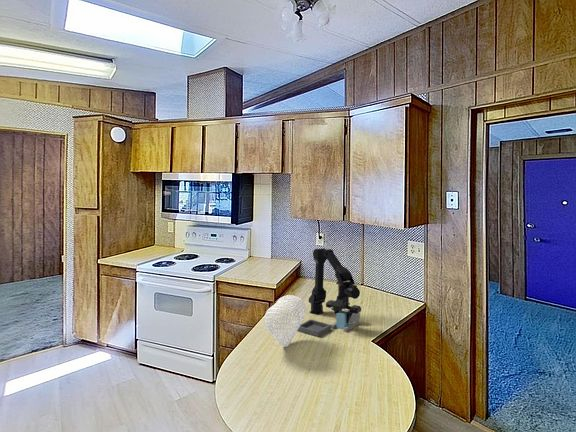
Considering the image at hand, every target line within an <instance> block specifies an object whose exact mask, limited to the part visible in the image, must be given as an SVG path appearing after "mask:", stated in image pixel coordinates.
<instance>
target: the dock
mask: <svg viewBox="0 0 576 432" xmlns="http://www.w3.org/2000/svg"><path fill="white" fill-rule="evenodd" d="M342 311H348V309H342ZM360 321H361V312H359V313H358V314H354V313H353V314H352V316H351V318H350V324H349V325H348V326H346V327H344V328H343V329H342V331H343V332H344V333H347V332H348V331H349V330H351V329H353V328H354V327H356V326H357V325H359V324H360ZM330 325H331V330H332V329H336V321H335V322H333V323H332V324H330Z"/></svg>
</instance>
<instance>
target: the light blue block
mask: <svg viewBox="0 0 576 432" xmlns="http://www.w3.org/2000/svg"><path fill="white" fill-rule="evenodd" d="M346 312H347V311H343V310H342V311H340V312H338V313H336V314H335V317H336V320H335V322H336V327H335V329H339V330H343V328H344V327H346V326H348V325H349V324H350V320H349V322H348V323H347V313H346Z"/></svg>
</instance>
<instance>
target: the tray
mask: <svg viewBox="0 0 576 432" xmlns="http://www.w3.org/2000/svg"><path fill="white" fill-rule="evenodd" d="M331 330H332V328H331V324H330V323H327V322H326V323H325V322H322V321H318V320H314V319H310V318H309V319H308V320H306V321H304V322H302V323H301V325H300V327H299V329H298V331H297V333H298V332H299V333H302V334H305V335H309V336H313V337H314V338H315V337H316V338H319V337H321V336H323V335H325V334H326V333H327V332H329V331H331Z"/></svg>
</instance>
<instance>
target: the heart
mask: <svg viewBox="0 0 576 432" xmlns="http://www.w3.org/2000/svg"><path fill="white" fill-rule="evenodd" d="M306 310H307V309H306V303H305V302H304V301H303V300H302V299H301V298H300V297H298V296H297V295H294V294H293V295H292V294H287V295H284V296H281V297H280V298H278V299H277V301H276V302H275V304H273V305H271V306H270V307H269V308H268V309H267V310H266V312H265V313H264V323H265V327H266V328H267V330H268V332H269V333H270V334H271V335H272V336H273V337H274V338H275V340H276V341H277V342H278V343H279V344H280V345H281V346H282V347H284V348H285V347H288V346H290V344H291V343H292V341H293V339H294V337H295V336H296V334H297V333H298V329H299V327H300V325H301V324H302V323H303V321H304V319H305V317H306Z"/></svg>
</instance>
